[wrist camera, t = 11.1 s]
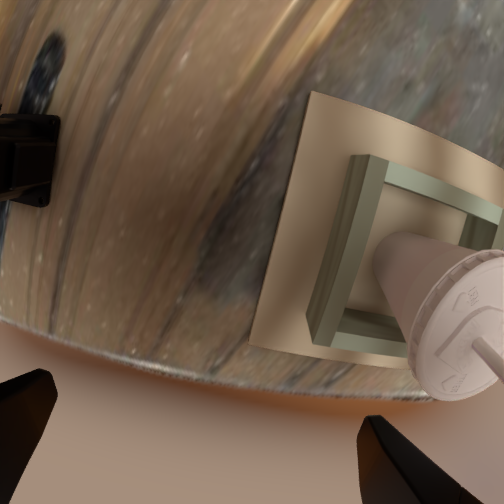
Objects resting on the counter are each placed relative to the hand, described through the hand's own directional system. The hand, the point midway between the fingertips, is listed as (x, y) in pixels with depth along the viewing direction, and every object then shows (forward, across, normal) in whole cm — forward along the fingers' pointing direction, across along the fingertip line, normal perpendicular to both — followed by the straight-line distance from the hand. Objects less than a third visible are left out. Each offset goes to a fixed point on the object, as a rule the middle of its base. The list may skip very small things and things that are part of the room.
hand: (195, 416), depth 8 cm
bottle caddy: (+13, -10, -2) cm, 17 cm away
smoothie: (+12, -10, -1) cm, 16 cm away
